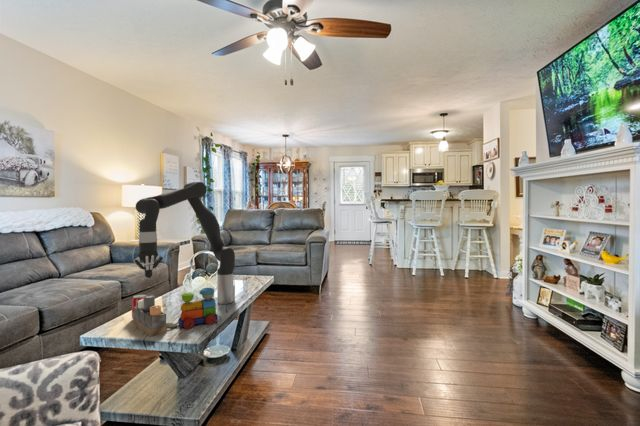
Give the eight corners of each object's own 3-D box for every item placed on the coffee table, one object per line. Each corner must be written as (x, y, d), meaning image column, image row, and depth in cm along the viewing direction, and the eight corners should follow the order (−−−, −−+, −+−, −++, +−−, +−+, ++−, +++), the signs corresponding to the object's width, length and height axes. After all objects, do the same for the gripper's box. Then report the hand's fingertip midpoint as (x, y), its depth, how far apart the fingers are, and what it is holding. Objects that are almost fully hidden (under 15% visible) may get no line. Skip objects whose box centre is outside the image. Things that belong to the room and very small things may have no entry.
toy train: (151, 328, 151) (150, 293, 151) (213, 316, 167) (212, 285, 166) (154, 337, 141) (153, 299, 140) (219, 323, 156) (219, 290, 156)
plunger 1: (146, 311, 158) (146, 298, 158) (150, 313, 155) (150, 299, 155) (136, 314, 155) (136, 300, 155) (140, 316, 152) (140, 302, 152)
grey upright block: (152, 308, 153) (152, 294, 153) (156, 310, 150) (156, 296, 150) (142, 311, 150) (142, 296, 150) (145, 313, 147) (145, 298, 147)
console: (148, 320, 160) (148, 303, 160) (166, 332, 145) (166, 313, 145) (133, 324, 155) (133, 307, 155) (150, 336, 140) (150, 317, 140)
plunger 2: (158, 318, 148) (158, 304, 148) (163, 321, 145) (162, 306, 145) (148, 321, 145) (148, 306, 145) (152, 323, 142) (152, 308, 142)
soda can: (150, 317, 164) (150, 294, 164) (139, 322, 158) (138, 298, 157) (140, 316, 167) (140, 293, 166) (128, 320, 160) (128, 297, 160)
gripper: (159, 239, 157) (160, 274, 157) (129, 241, 147) (130, 278, 147) (165, 240, 152) (166, 276, 152) (135, 242, 142) (135, 281, 142)
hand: (148, 277), depth 150 cm, fingers closed
